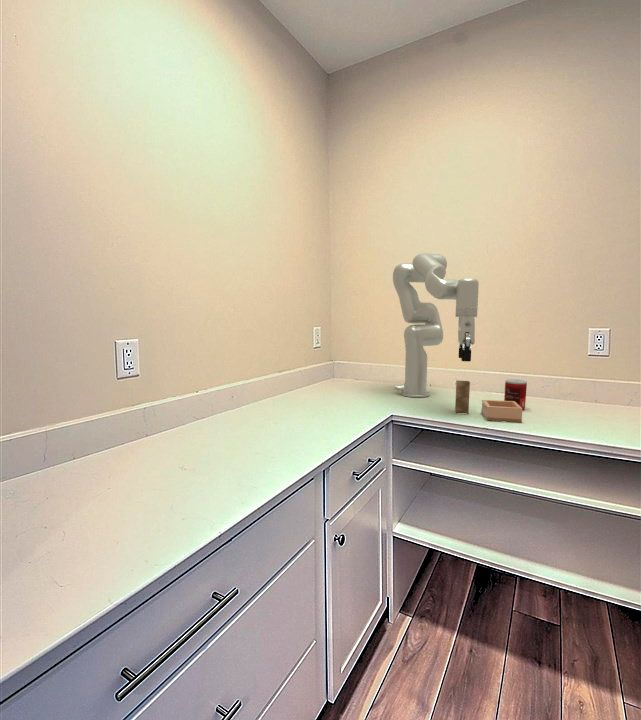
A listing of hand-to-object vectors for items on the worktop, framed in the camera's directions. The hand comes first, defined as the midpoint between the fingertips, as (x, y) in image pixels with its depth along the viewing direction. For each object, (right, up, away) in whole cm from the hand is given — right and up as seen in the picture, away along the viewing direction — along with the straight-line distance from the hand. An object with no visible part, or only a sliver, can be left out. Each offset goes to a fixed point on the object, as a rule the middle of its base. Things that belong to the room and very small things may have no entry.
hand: (464, 359), depth 156 cm
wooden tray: (+12, -21, -4) cm, 24 cm away
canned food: (+23, -19, +10) cm, 32 cm away
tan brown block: (0, -20, +3) cm, 20 cm away
